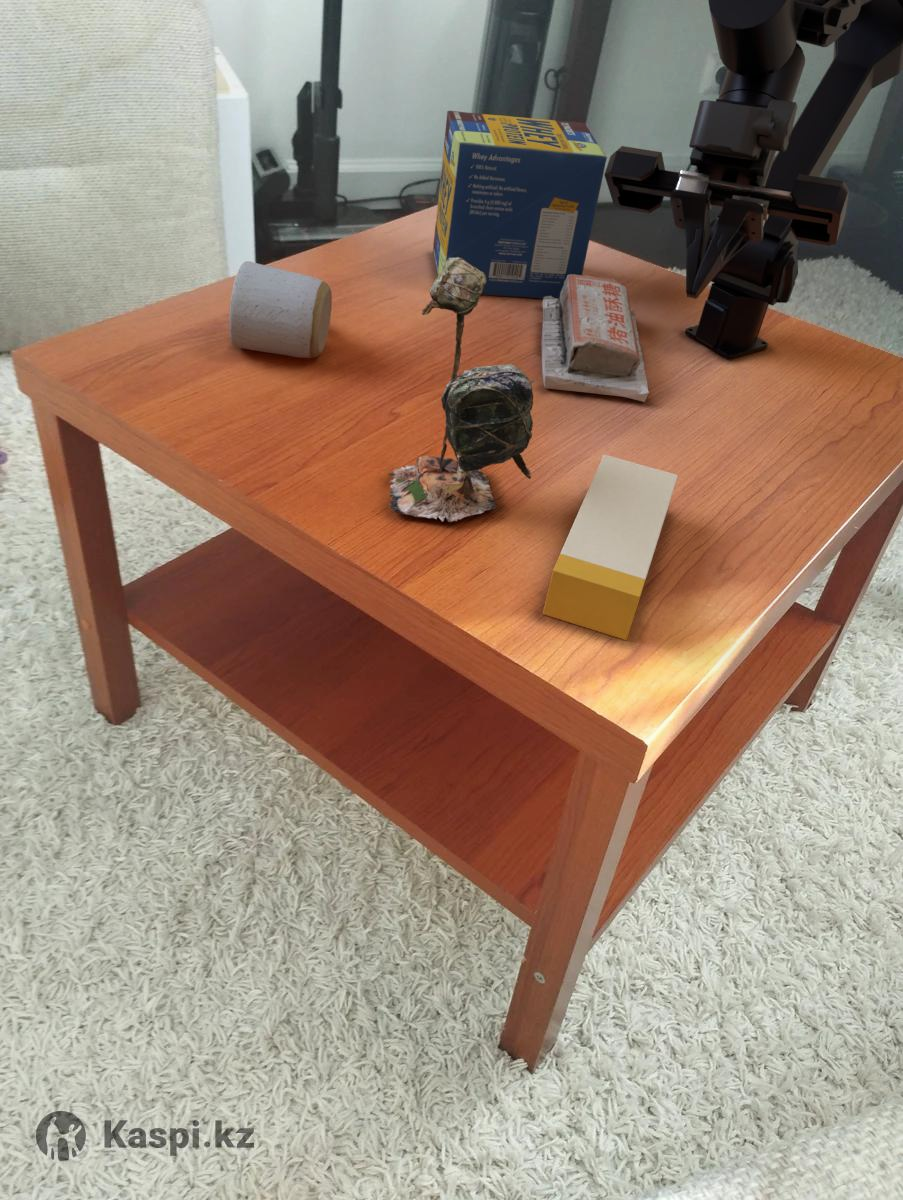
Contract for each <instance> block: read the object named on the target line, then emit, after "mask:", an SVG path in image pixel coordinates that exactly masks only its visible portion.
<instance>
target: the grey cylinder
mask: <svg viewBox="0 0 903 1200" xmlns="http://www.w3.org/2000/svg"><path fill="white" fill-rule="evenodd" d="M332 295H333V294H332V289H331V287H330V285H329V283H327V282H325V281H323V280H321V279H319V278H317V277H314V276H311V275H307V274H303V273H298V272H293V271H290V270H286V269H283V268H282V269H281V268H279V267H278V268H277V267H274V266H269V265H266V264H261V263H257V262H254V261H249V260H248V261H243V263H241V265H240V266H239V268H238V271H237V273H236V275H235V278H234V281H233V285H232V292H231V296H230V305H229V325H228V326H229V327H228V328H229V335H230V342H231V344H232V346H234V347H235V348H237V349H243V350H251V351H256V352H262V353H269V354H275V355H283V356H288V357H293V358H299V359H300V358H301V359H314V358H317V357H318V356H320V355H321V354H322V352H323V350H324V348H325V345H326V342H327V337H328V334H329V329H330V325H331V324H330V323H331V315H332V304H333V296H332Z"/></svg>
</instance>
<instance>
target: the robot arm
mask: <svg viewBox="0 0 903 1200" xmlns="http://www.w3.org/2000/svg"><path fill="white" fill-rule="evenodd" d="M707 1H708V7H709V13H710V17H711V23H712V27H713V32H714V37H715V41H716V45H717V51H718V56H719V59H720V61H721V63H722V64H723V66H724V67H725V68H726V69H727V71H726V74H725V77H724V80H723V83H722V86H721V88H720V92H719V96H718V97H717V98H716V99H715V100H707V99H703V100H702V99H701V100H700V101H699V104H698V109H697V112H696V116H695V120H694V124H693V129H692V133H691V137H690V140H689V143H688V146H689V148H691V149H692V150H691V152H690V155H689V160H690V166H693V167H695V168H694V171H691V170H684V169H681V170H679V171H672V170H666V168H665V167H666V166H665V163H664V162H665V161H664V157H663V152H662V151H657V150H649V149H645V148H644V149H643V148H637V147H631V146H626V145H625V146H624V145H621V146H620V147H619V148H617V150H615V151H614V152H613V153H612V154H610V156H609V159H608V163H607V166H606V167H605V170H604V173H603V176H604V178H605V181H606V184H607V188H608V191H609V194H610V197H611V200H612V204H613V205H614V206H615V207H617V208H619V209H622V210H628V211H633V212H639V213H644V214H651V213H652V212H654V211H656V210H658V209H659V208H661V207H662V204H663V201H664V198H669V202H670V207H671V212H672V217H673V222H674V225H675V227H676V228H679V229H680V230H685V233H684V234H685V249H686V250H685V252H686V253H685V266H686V267H685V294H686V297H687V298H690V299H694V300H696V299H698V298H699V296H700V295H701V294H702V293H703V291H704V290H705V289H706V288H707V287H708V286H709V284H710V283H711V285H710V288H709V292H708V295H707V299H705V302H704V304H703V308H702V311H701V315H700V318H699V321H698V324H697V325H694V326H690V327H687V328H685V331H684V335H686V336H688V337H689V338H691V339H693V340H695V341H697V342H698V343H699V344H701V345H702V346H705V348H708V349H710V350H711V351H713V352H714V353H716V354H718V355H719V356H722V357H723V358H725V359H727V360H731V359H735V358H739V357H743V356H746V355H750V354H752V353H757V352H759V351H764V350H767V349H768V346H769V342H767V341H765V340H764V339H762V338H760V337H759V334H760V332H761V328H762V325H763V323H764V320H765V317H766V314H767V311H768V309H769V306H772V307H773V306H774V305H776V304H777V303H778V304H780V303H781V304H787V303H788V302H789V301H790V298H791V295H792V292H793V290H794V287H795V285H796V280H797V278H798V275H799V260H798V259H799V257H798V245H799V241H800V242H806V243H811V244H812V243H813V244H817V245H822V246H829V247H830V246H834V245H837V244H838V240H839V237H840V233H841V231H842V228H843V225H844V222H845V218H846V213H847V206H848V200H849V194H850V190H849V188H848V186H847V184H846V182H845V181H844V180H839V179H834V178H827V177H820V176H821V174H822V173H823V171H824V169H826V168H825V167H826V166H827V164H828V163H829V161H830V159H831V158H832V157H833V155H834V152H835V151H836V149H837V147H838V146H839V144H840V142H841V141H842V139H843V138H844V136H845V134H846V133H847V131H848V129H849V127H850V126H851V124H852V122H853V121H854V119H855V117H856V116H857V114H858V111H859V110H860V109H861V107H862V105H863V104H864V102H865V100H866V99H867V97H868V95H869V94H870V92H871V91H872V90H873V89H875V88H877V87H878V86H880V85H882V84H884V83H886V82H887V81H889V80H891V79H893V78H895V77H897V76H898V75H900V73H901V72H902V70H903V0H707ZM797 41H798V42H801V43H805V44H809V45H812V46H817V47H821V48H828V47H830V46H831V45H832V44H833V58H832V61H831V63H830V64H829V66H828V68H827V70H826V71H825V73H824V74H823V77H822V78H821V80H820V82H819V83H818V85H817V87H816V88H815V90H814V92H813V93H812V95H811V96H810V98H809V100H808V102H807V103H806V105H805V107H804V108H803V110H802V111H801V114H800V115H799V117H797V120H796V122H795V119H796V115H797V114H796V113H797V109H798V104H797V102H795V101H794V98H795V95H796V92H797V89H798V86H799V83H800V79H801V77H802V74H803V71H804V68H805V65H806V56H805V53H804V50H803V49H802V47H801V46H800V44H799V43H798V42H797ZM713 206H717V207H721V208H722V209H721V211H720V212H719V213H718V214H717V217H715V218H714V219H713V220H712V221H711V220H710V211H712V207H713Z"/></svg>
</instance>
